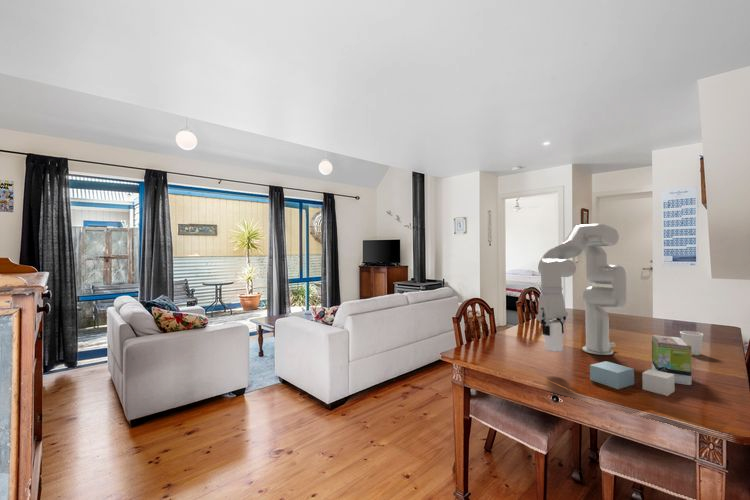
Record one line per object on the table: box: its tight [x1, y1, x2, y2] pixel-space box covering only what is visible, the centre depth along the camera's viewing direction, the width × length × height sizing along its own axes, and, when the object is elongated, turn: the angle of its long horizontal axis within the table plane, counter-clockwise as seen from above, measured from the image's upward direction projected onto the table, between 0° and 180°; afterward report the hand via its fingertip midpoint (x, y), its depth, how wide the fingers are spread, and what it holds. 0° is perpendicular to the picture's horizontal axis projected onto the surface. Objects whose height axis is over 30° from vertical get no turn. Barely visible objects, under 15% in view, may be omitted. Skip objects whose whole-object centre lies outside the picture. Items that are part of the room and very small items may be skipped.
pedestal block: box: [589, 360, 635, 390], centre depth 129 cm, size 10×10×6 cm
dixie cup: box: [679, 330, 704, 356], centre depth 163 cm, size 8×8×10 cm
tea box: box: [651, 334, 693, 386], centre depth 133 cm, size 15×10×15 cm
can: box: [543, 319, 564, 353], centre depth 141 cm, size 6×6×12 cm
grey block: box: [641, 368, 676, 397], centre depth 121 cm, size 7×7×6 cm
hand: (553, 333), depth 141 cm, fingers closed on can, 6 cm apart
